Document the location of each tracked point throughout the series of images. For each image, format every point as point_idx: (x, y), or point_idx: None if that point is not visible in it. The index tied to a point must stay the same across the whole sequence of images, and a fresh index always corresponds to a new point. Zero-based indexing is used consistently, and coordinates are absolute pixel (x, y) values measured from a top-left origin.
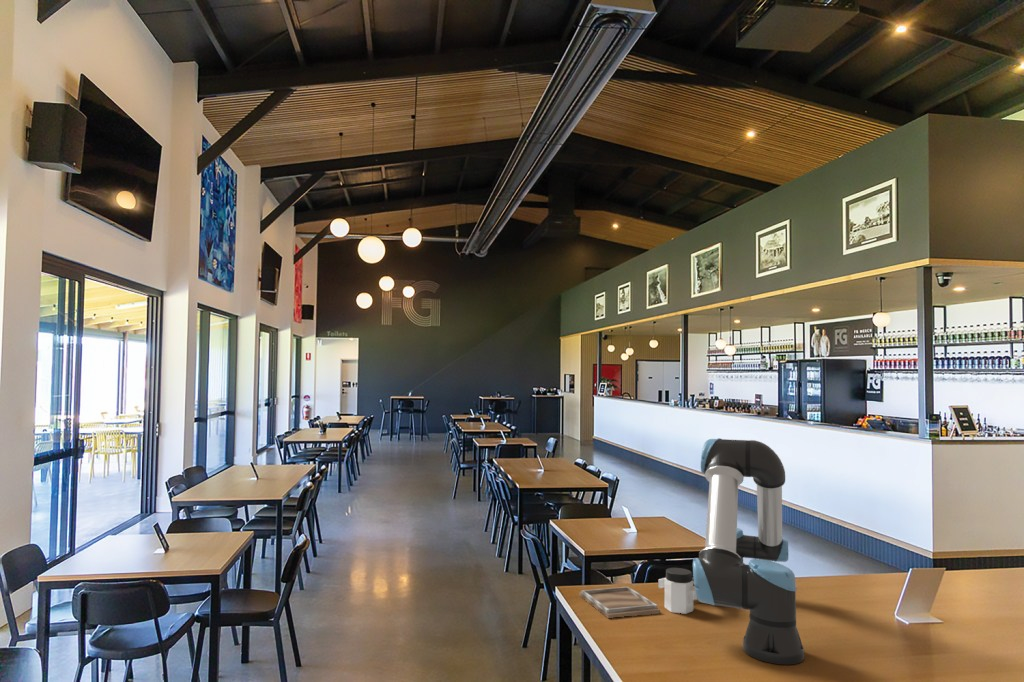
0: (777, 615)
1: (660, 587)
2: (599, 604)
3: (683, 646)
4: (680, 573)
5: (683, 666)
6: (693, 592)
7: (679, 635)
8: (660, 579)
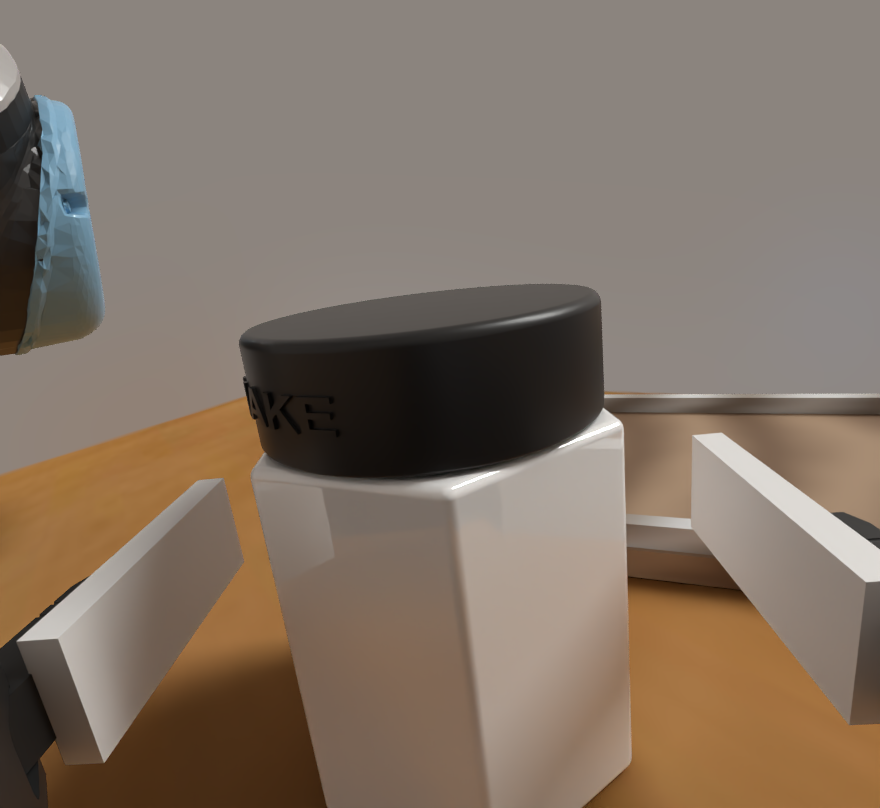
0: None
1: (695, 522)
2: (661, 396)
3: (203, 467)
4: (350, 308)
5: (173, 430)
6: (219, 497)
7: (247, 494)
8: (712, 441)
